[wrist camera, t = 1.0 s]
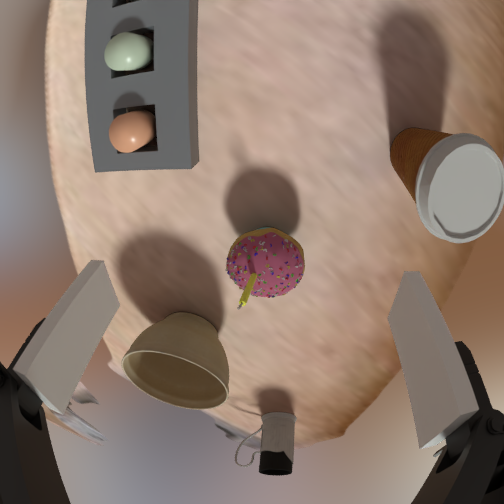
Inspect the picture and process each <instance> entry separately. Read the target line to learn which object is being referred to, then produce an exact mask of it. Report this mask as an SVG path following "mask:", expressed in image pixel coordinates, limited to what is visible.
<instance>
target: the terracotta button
mask: <svg viewBox="0 0 504 504" xmlns="http://www.w3.org/2000/svg"><path fill="white" fill-rule="evenodd" d="M156 133H157V130H156V118H155V117H154V115H153V114H152V113H151V112H149V111H147V110H143V109H140V110H136V111H132V112H129V113H125V114H122V115H119V116H117V117H116V118H115V119H114V120H113V121H112V123H111V125H110V128H109V138H110V141H111V143H112V145H113V146H114V148H115V149H117V150H118V151H120V152H123V153H130V152H133V151H135V150H136V149H138V148H140V147H142V146H144V145H145V144H147V143H149V142H151V141H152V140H153V139H154V137H155V136H156Z"/></svg>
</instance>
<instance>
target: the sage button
mask: <svg viewBox="0 0 504 504" xmlns="http://www.w3.org/2000/svg"><path fill="white" fill-rule="evenodd" d="M104 58H105V62H106V64H107V65H108V67H110V68H111V69H113V70H117V71H121V70H140V69H143V68H145V67H146V66H147V65H149V64H150V62H151V61H152V60H153V58H154V43H153V41H152V40H151V39H150V38H149V37H146V36H142V35H138V34H134V33H129V32H124V33H120V34H118V35H116V36H114V37H113V38H112V39H111V40H110V41H109V43H108V44H107V46H106V49H105V53H104Z"/></svg>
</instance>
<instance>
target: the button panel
mask: <svg viewBox="0 0 504 504" xmlns="http://www.w3.org/2000/svg"><path fill="white" fill-rule="evenodd" d="M197 21H198V0H139V1H135V2H131V3H127V4H126V0H87V8H86V23H85V85H86V101H87V114H88V124H89V133H90V141H91V149H92V156H93V162H94V169H95V172H109V171H128V170H156V169H192V168H193V167H194V166H195V165H196V164H197V163H198V162H199V147H198V116H197ZM124 32H129V33H134V34H138V35H140V34H145V33H150V32H154V71H150V72H144V73H138V74H132V75H127V76H125V70H121V71H117V70H113V69H111V68H110V67H108V65H107V64H106V62H105V58H104V53H105V49H106V46H107V44H108V43H109V41H110V40H111V39H112V38H113V37H114V36H116V35H118V34H120V33H124ZM151 104H155V114H156V130H157V144H158V145H152V146H142V147H140V148H138V149H136V150H135V151H133V152H130V153H123V152H120V151H118V150H117V149H115V148H114V146H113V145H112V143H111V141H110V138H109V128H110V125H111V123H112V121H113V120H114V119H115V118H116V117H117V116H119V115H122V114H125V113H127V110H126V108H127V107H134V106H142V105H151Z"/></svg>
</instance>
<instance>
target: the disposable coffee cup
mask: <svg viewBox="0 0 504 504" xmlns="http://www.w3.org/2000/svg"><path fill="white" fill-rule="evenodd" d="M390 158H391V163H392V166H393V168H394V170H395V171H396V173H397V174H398V176H399V177H400V179H401V180H402V182H403V183H404V185H405V187H406V188H407V190H408V191H409V193H410V194H411V196H412V198H413V200H414V201H415V203H416V206H417V211H418V214H419V216H420V219H421V221H422V223H423V224H424V225H425V227H426V228H427V229H428V230H429V231H430V232H431V233H432V234H433V235H435V236H436V237H439V238H441V239H445V240H448V241H450V242H455V243H464V242H469V241H472V240H474V239H476V238H478V237H480V236H481V235H483V234H484V233H485V232H486V231H487V230H488V229H489V228H490V227H491V226H492V225H493V224H494V222H495V221H496V219H497V218H498V216H499V214H500V212H501V210H502V207H503V204H504V168H503V165H502V163H501V161H500V159H499V158H498V156H497V155H496V153H495V151H494V150H493V149H492V147H491V146H490V145H489V144H488V143H487V142H486V141H485V140H484V139H482V138H480V137H478V136H476V135H473V134H468V133H460V134H448V133H443V132H438V131H432V130H426V129H420V128H409V129H406V130H404V131H402V132H401V133H399V134H398V135H397V136H396V138H395V139H394V141H393V143H392V146H391V152H390Z"/></svg>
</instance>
